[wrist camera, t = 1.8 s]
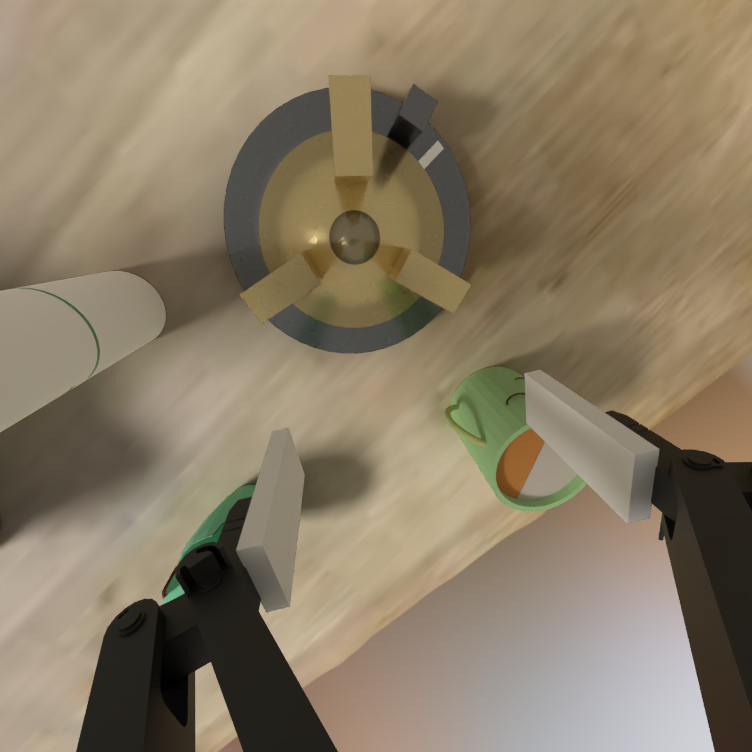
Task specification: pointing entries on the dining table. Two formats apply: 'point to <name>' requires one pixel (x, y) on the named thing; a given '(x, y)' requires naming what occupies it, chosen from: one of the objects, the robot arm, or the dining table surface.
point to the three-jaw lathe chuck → (351, 225)
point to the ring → (285, 135)
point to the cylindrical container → (69, 335)
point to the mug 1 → (206, 536)
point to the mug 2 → (509, 442)
